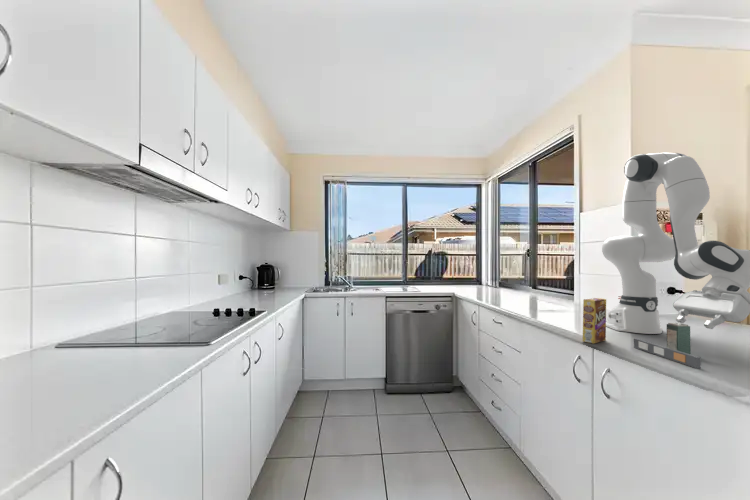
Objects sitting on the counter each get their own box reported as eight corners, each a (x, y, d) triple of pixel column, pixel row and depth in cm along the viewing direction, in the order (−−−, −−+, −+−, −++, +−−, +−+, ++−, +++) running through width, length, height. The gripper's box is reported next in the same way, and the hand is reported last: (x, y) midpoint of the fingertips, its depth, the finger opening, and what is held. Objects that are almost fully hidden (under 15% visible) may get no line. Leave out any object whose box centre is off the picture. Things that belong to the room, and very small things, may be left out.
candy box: (595, 344, 123) (594, 300, 123) (582, 341, 127) (581, 299, 127) (607, 340, 128) (606, 298, 128) (594, 338, 131) (594, 297, 132)
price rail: (633, 347, 119) (633, 338, 119) (637, 347, 119) (637, 338, 119) (695, 368, 97) (695, 357, 97) (700, 368, 97) (700, 357, 97)
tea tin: (666, 352, 113) (666, 322, 113) (678, 352, 113) (678, 322, 113) (677, 355, 109) (677, 325, 109) (690, 355, 109) (690, 325, 109)
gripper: (684, 283, 122) (657, 312, 121) (749, 288, 102) (718, 323, 101) (696, 296, 122) (670, 325, 121) (764, 304, 102) (733, 338, 101)
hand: (692, 324), depth 111 cm, fingers open, 8 cm apart
